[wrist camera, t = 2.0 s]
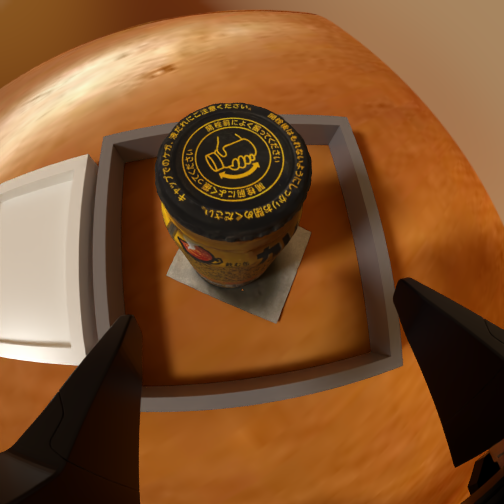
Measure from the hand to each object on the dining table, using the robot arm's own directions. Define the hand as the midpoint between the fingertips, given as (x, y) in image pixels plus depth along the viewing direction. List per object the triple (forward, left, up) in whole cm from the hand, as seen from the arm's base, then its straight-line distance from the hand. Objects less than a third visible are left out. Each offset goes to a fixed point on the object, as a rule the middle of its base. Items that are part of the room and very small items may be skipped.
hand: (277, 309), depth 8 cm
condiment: (+4, 0, -11) cm, 12 cm away
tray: (+5, +19, -11) cm, 23 cm away
